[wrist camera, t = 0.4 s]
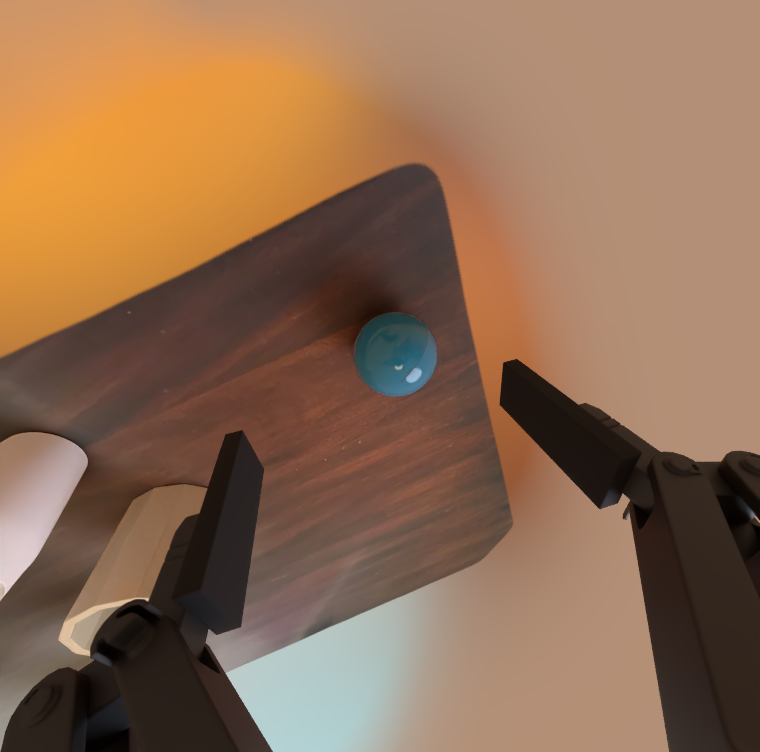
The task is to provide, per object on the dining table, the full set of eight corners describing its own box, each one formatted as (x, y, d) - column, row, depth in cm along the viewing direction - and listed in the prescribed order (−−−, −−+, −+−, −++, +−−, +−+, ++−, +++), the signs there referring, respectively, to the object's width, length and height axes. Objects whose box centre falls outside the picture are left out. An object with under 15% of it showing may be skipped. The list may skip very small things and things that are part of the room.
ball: (331, 344, 30) (339, 386, 23) (383, 283, 28) (409, 310, 21) (386, 382, 34) (406, 427, 27) (435, 331, 32) (470, 367, 25)
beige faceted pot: (142, 475, 33) (72, 595, 23) (246, 495, 38) (226, 600, 28) (118, 536, 37) (49, 662, 27) (216, 546, 42) (189, 655, 32)
